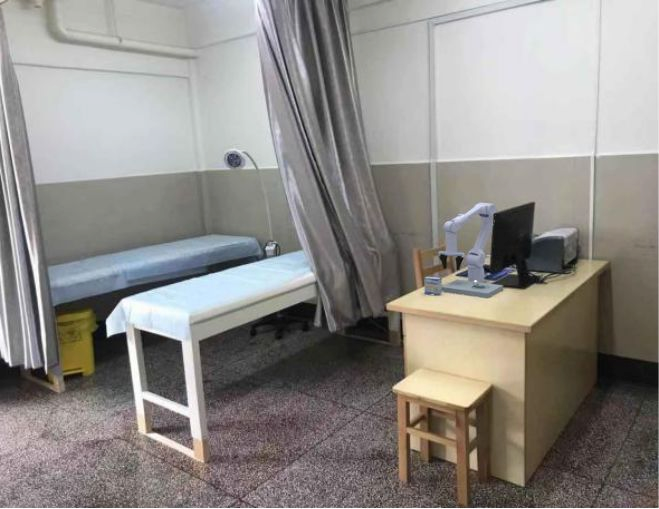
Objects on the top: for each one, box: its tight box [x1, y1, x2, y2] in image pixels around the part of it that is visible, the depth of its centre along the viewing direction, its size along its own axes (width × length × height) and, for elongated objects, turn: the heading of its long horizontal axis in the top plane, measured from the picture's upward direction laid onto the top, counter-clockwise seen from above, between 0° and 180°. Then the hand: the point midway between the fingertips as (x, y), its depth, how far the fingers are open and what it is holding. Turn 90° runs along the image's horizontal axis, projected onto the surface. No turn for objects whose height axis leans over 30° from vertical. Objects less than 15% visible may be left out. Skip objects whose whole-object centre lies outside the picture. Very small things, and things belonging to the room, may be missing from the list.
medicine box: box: [424, 276, 443, 296], centre depth 281 cm, size 8×4×9 cm, turn 62°
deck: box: [442, 279, 504, 299], centre depth 283 cm, size 26×18×2 cm
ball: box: [472, 280, 479, 287], centre depth 282 cm, size 4×4×4 cm
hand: (451, 269), depth 290 cm, fingers open, 7 cm apart
